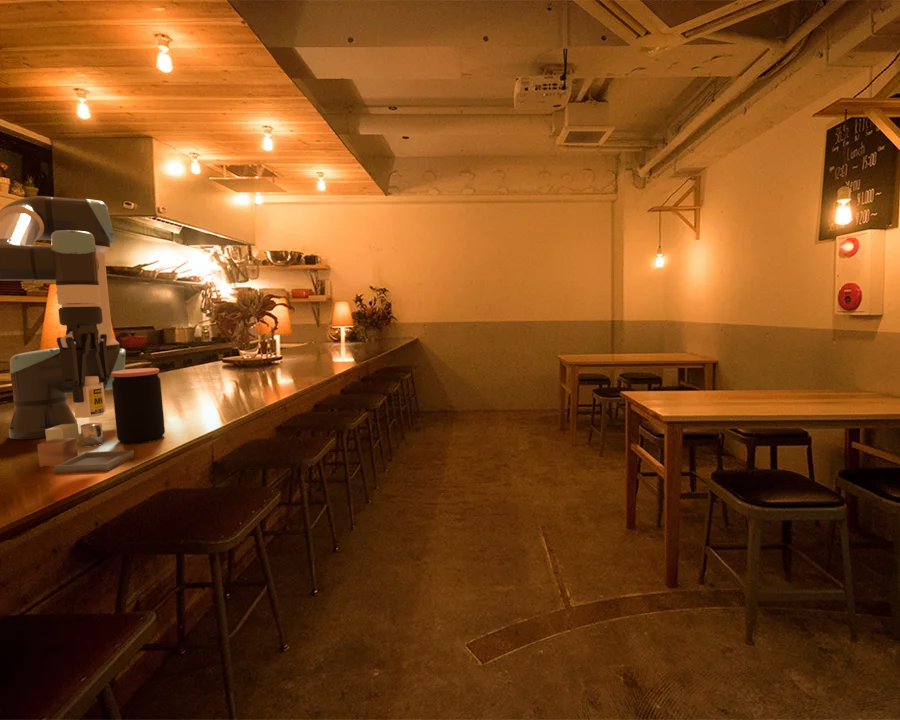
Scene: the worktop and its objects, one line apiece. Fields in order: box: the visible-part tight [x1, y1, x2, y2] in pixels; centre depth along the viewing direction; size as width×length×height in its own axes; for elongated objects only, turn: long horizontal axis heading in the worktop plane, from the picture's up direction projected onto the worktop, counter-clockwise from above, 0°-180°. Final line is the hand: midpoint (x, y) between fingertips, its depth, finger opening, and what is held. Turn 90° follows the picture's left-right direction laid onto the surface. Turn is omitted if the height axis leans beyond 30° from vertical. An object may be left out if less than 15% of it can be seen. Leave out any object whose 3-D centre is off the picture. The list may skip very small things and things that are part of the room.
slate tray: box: [53, 449, 135, 475], centre depth 114 cm, size 11×11×2 cm
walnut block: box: [36, 438, 79, 468], centre depth 116 cm, size 5×5×5 cm
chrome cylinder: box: [80, 422, 104, 447], centre depth 132 cm, size 4×4×5 cm
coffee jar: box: [111, 367, 166, 445], centre depth 135 cm, size 11×11×18 cm
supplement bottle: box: [85, 376, 105, 419], centre depth 113 cm, size 5×5×8 cm
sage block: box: [45, 423, 80, 443], centre depth 132 cm, size 6×4×5 cm, turn 5°
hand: (91, 414), depth 113 cm, fingers closed on supplement bottle, 5 cm apart
